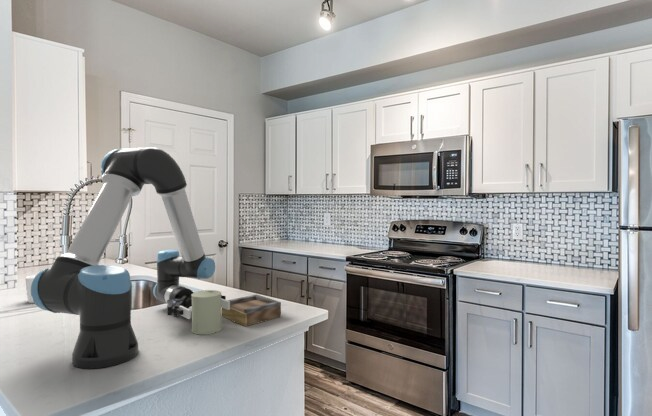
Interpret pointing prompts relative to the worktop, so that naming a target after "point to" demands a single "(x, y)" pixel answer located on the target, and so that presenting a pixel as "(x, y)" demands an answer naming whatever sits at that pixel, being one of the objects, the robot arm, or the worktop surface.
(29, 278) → the white cup
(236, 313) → the brown wooden tray
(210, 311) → the can
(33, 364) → the worktop surface
